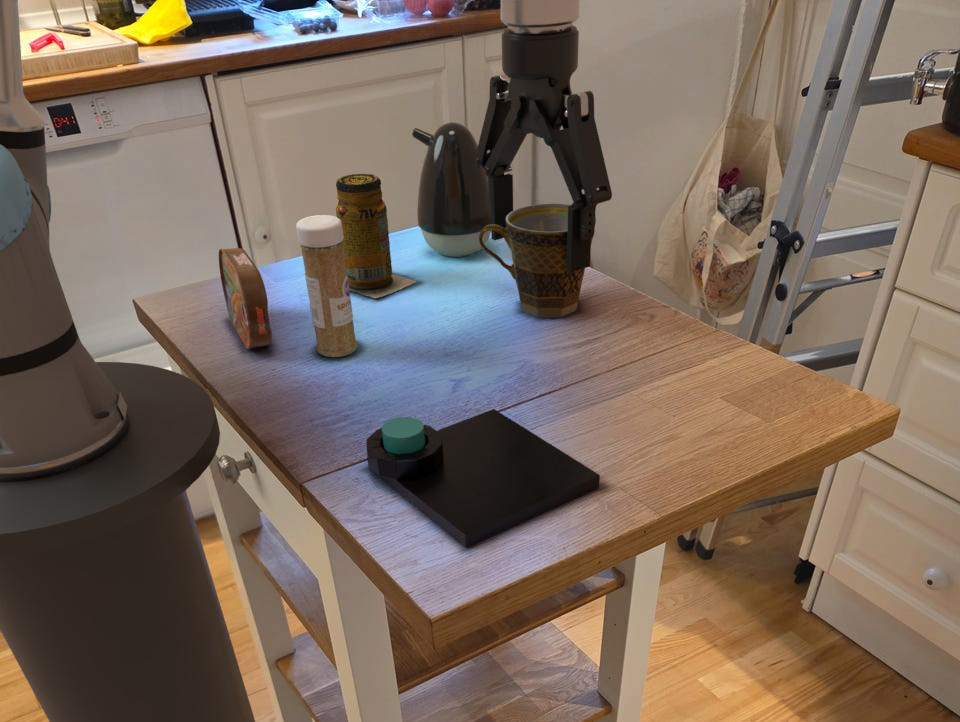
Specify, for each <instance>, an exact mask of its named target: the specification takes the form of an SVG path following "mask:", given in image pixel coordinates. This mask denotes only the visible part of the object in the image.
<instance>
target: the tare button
mask: <svg viewBox="0 0 960 722" xmlns="http://www.w3.org/2000/svg"><path fill="white" fill-rule="evenodd" d="M424 425H425V424H424V422H422V420H420V419H419V418H415V417H412V416H400V417H394V418H391V419H389V420H387V421H385V422H384V423H383V425H382V427H381V428H382V436H383V444H384V448H385V450H386V451H387V452H391V453H396V454H409V453H414V452H416V451H419V450H421V449H423V448H424V446H425V433H424Z"/></svg>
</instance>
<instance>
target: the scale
mask: <svg viewBox="0 0 960 722" xmlns="http://www.w3.org/2000/svg"><path fill="white" fill-rule="evenodd" d="M423 425H424V433H425V446H424V448H423V449H421V450H419V451H416V452H414V453H409V454H396V453H391V452H387V451H386V450H385V448H384V444H383V436H382V427H380V428H378V429H376V430H374V432H372V433H371V434H370V435H369V436H368V437H367V439H366V441H365V442H366V455H367V457H366V458H367V467H368V470H369V471H371V473H373V474H374V475H375V476H377V478H379V479H380V480H381V481H383V482H384V483H386V485H388V486H389V487H390V488H391V489H393V490H394V491H395V492H396V493H398V495H400V496H402V497H403V498H404V499H406V501H408V502H409V504H411V505H412V506H414V507H415V508H416V509H417V510H419V511H420V512H421V513H422V514H423V515H424V516H426V517H427V518H428V519H429V520H431V521H432V522H433V523H434V524H436V525H437V526H438V527H439V528H441V529H442V530H443V531H444V532H445V533H446V534H448V535H449V536H451V537H452V539H454V540H455V541H457V542H458V543H459V544H460V545H461V546H463V547H464V548H469V547H471V546H473V545H475V544H478V543H480V542H482V541H485V540H486V539H488V538H491V537H493V536H496V535H498V534H500V533H502V532H504V531H506V530H508V529H510V528H513V527H515V526H517V525H519V524H522V523H524V522H526V521H528V520H530V519H532V518H534V517H537V516H539V515H541V514H543V513H546V512H547V511H550V510H552V509H554V508H556V507H558V506H561V505H563V504H565V503H567V502H569V501H571V500H574V499H576V498H578V497H581V496H583V495H584V494H587V493H589V492H591V491H594V490H596V489H598V488H600V480H601V475H600V474H599V473H597V472H596V471H595V470H593V469H592V468H590V467H588V466H586V465H585V464H584V463H581V462H580V461H578V460H576V459H575V458H573V457H571V456H570V455H569V454H567V453H565V452H564V451H562V450H561V449H559V448H557V446H554V445H553V444H551V443H550V442H548V441H546V440H544V439H543V438H541V437H540V436H538V435H537V434H535V433H534V432H532V431H530V430H528V428H525V427H524V426H522V425H520V424H519V423H517V422H516V421H514V420H513V419H512V418H510V417H508V416H507V415H505V414H503V413H502V412H500V411H498V410H497V409H495V408H492V409H489V410H487V411H484V412H481V413H479V414H477V415H474V416H471V417H468V418H466V419H463V420H461V421H458V422H455V423H453V424H451V425H448V426H445V427H443V428H440V429H437V430H436V429H435V428H434V427H432V426H430V425H427V424H423Z"/></svg>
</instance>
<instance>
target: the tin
mask: <svg viewBox="0 0 960 722" xmlns="http://www.w3.org/2000/svg"><path fill="white" fill-rule="evenodd" d="M218 267H219V273H220V274H219V276H220V280H221V286H222V292H223V297H224V300H225V306H226V309H227V313H228V316H229V319H230V322H231V324H232V326H233V328H234V329H235V331H236V333H237V335H238V336H239V338H240V340H241V342H242V343H243V345H244V347H245V348H246V349H247V350H250V349H254V348H261V347H267V346H269V345H271V343H272V341H273V339H272V338H273V332H272V329H271V325H270V317H269V302H268V295H267V290H266V286H265V283H264V279H263V277H262V274H261V272H260V270H259V269H258V267H257V265H256V264H255V263H254V262H253V260H252V258H251V256H249V254H248V253H247V251H246V250H245V249H244V248H240V247H233V248H219V250H218Z"/></svg>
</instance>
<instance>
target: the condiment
mask: <svg viewBox="0 0 960 722" xmlns="http://www.w3.org/2000/svg"><path fill="white" fill-rule="evenodd" d="M381 185H382V180H381V179H380V178H379V177H378V176H377V175H375V174H371V173H351V174H346V175H342V176H341V177H339V178H338V179H337V180H336V183H335V187H336V198H337V200H338V202H337V203H336V207H335V214H336V217H337V218H339V219H340V220H341V223H342V229H343V237H344V238H343V240H342V241H343V250H344V259H345V265H346V273H347V277H348V283H349V290H350V292H352V293H353V292H354V293H357V294H360V295H362V296H366V297H370V298H373V299H377V298H382V297H384V296H388V295H389V294H393V293H395V292H397V291H401V290H402V289H404V288H406V287H410V286H411V285H413V284H416V283H418V281H417V280H414V279H411V278H408V277H404V276H401V275H398V274H393V267H392V266H393V265H392V256H391V245H390V244H391V243H390V232H389V221H388V211H387V204H386V202H385V201H384V199H383V192H382V191H383V190H382V186H381Z"/></svg>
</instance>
